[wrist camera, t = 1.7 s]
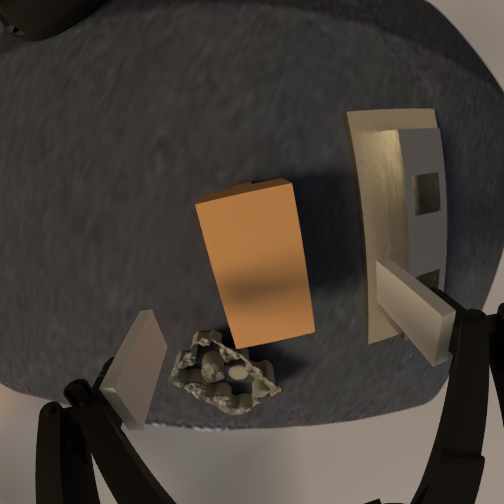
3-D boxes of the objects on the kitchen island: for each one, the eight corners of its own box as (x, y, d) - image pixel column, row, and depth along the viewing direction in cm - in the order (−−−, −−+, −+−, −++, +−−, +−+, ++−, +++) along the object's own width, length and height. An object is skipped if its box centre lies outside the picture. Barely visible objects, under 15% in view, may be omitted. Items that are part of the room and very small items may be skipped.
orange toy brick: (206, 190, 24) (195, 204, 17) (276, 175, 24) (291, 183, 17) (235, 304, 28) (236, 349, 21) (297, 290, 27) (314, 331, 21)
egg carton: (283, 366, 31) (289, 392, 27) (240, 400, 33) (241, 425, 29) (207, 317, 28) (204, 341, 24) (167, 359, 30) (160, 384, 26)
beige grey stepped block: (343, 113, 22) (363, 106, 18) (429, 109, 22) (455, 106, 18) (365, 340, 30) (380, 363, 26) (435, 315, 30) (453, 333, 26)
